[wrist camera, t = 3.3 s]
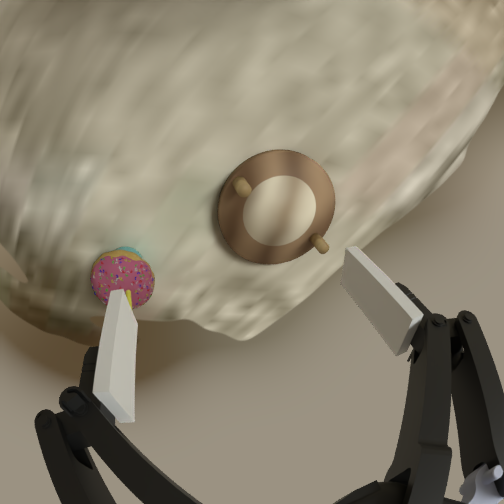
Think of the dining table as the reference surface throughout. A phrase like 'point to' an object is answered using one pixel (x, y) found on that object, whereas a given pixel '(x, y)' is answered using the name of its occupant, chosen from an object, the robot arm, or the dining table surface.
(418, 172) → the dining table surface
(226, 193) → the plate
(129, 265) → the cupcake
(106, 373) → the robot arm
